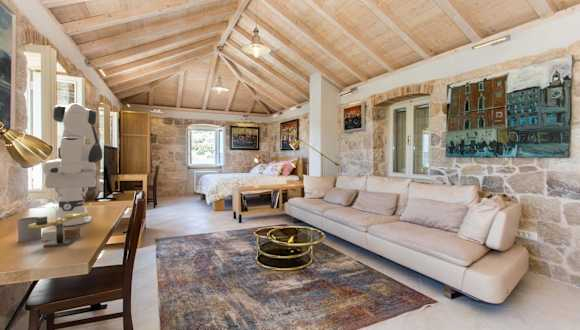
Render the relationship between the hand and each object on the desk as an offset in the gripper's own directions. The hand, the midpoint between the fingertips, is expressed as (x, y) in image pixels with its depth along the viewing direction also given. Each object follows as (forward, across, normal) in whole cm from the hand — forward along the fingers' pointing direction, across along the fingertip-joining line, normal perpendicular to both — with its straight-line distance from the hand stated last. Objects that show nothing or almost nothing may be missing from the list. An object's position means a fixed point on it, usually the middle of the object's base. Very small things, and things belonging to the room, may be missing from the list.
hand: (71, 196), depth 139 cm
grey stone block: (+21, +10, -2) cm, 23 cm away
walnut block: (+21, 0, 0) cm, 21 cm away
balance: (+21, +2, +9) cm, 23 cm away
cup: (+21, +19, -5) cm, 29 cm away
